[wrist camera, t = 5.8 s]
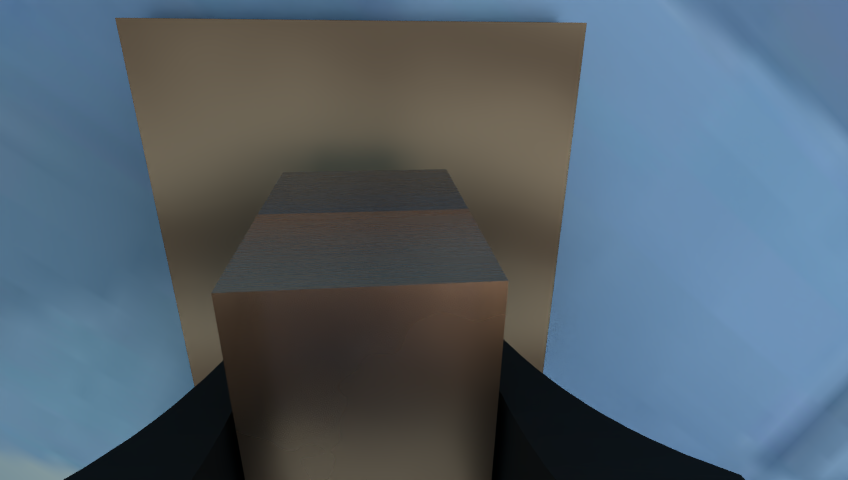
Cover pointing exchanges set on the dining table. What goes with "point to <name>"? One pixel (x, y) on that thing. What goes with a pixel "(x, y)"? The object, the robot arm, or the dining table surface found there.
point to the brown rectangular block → (363, 331)
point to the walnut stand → (354, 136)
